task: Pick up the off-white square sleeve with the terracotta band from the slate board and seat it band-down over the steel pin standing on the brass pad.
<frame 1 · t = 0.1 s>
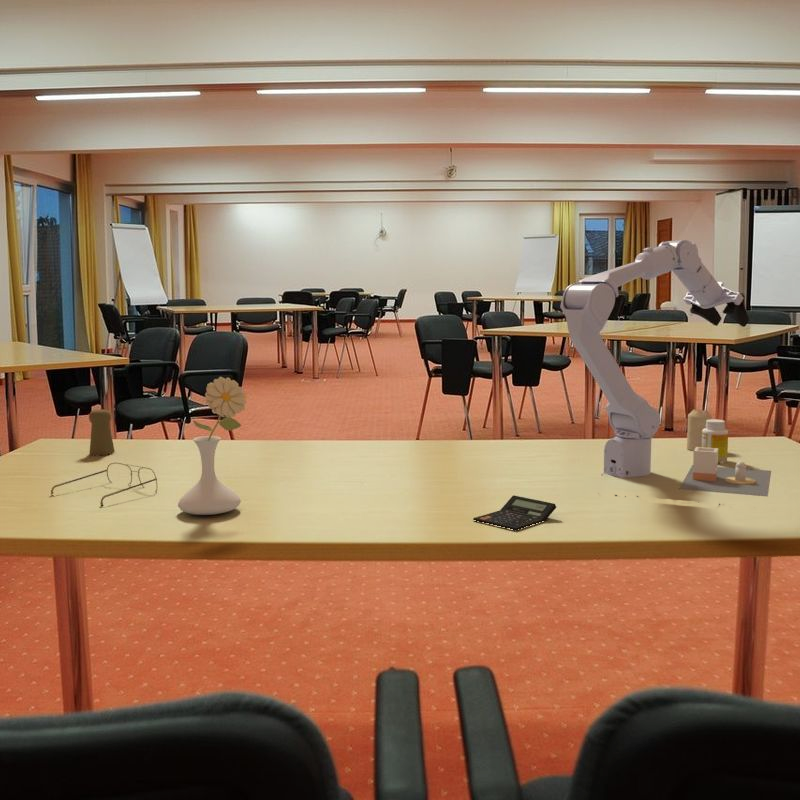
hand: (731, 322, 195), 32 cm above the table, tool tilted 50°, fingers open, 7 cm apart
flower in vase: (214, 512, 162), on the table
beige bottle: (698, 450, 216), on the table
pin board: (726, 484, 179), on the table
calculator: (514, 522, 155), on the table
brown tapered column: (102, 454, 219), on the table
supplement bottle: (713, 466, 198), on the table
eyeglasses: (107, 496, 177), on the table
sleeve: (705, 478, 181), point 1 cm above the table, touching pin board
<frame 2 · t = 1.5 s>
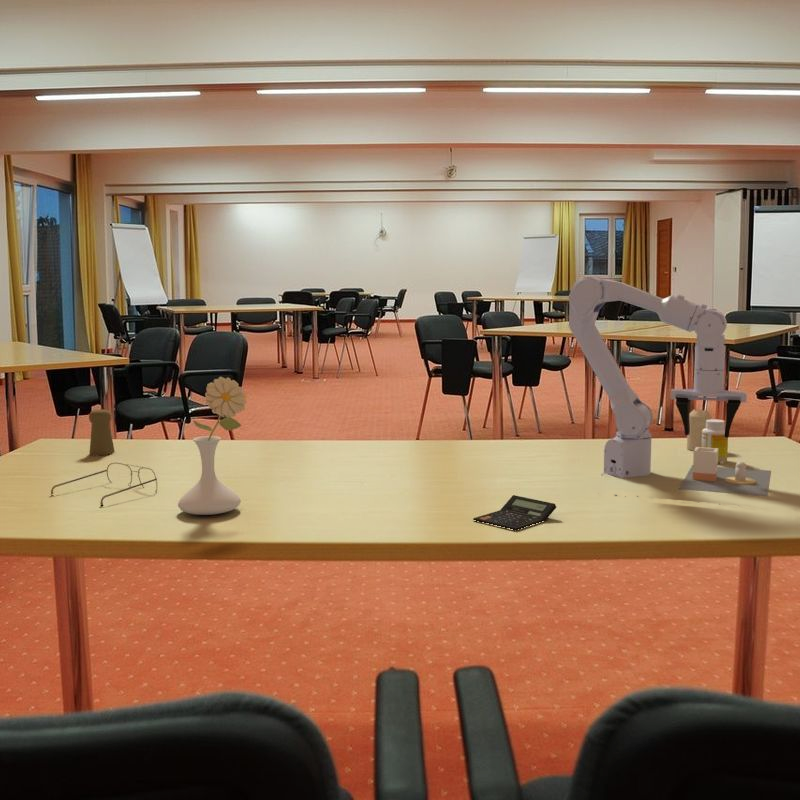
hand: (706, 435, 179), 10 cm above the table, tool pointing down, fingers open, 7 cm apart
nothing on the table moved.
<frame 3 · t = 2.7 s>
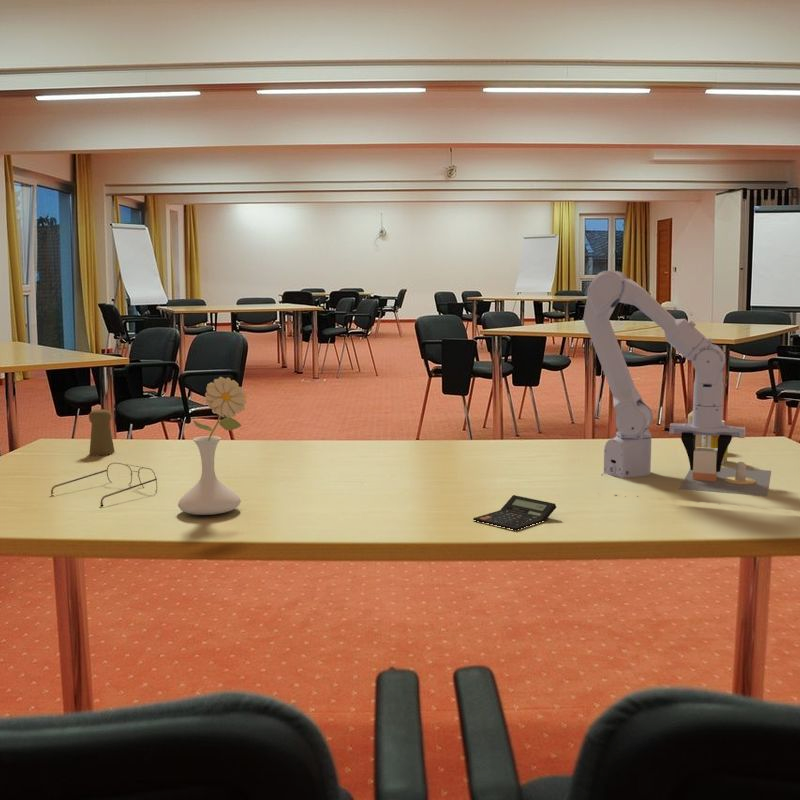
hand: (705, 470, 180), 3 cm above the table, tool pointing down, fingers closed on sleeve, 4 cm apart
sleeve: (705, 478, 181), point 1 cm above the table, touching gripper, pin board
everything else where it was.
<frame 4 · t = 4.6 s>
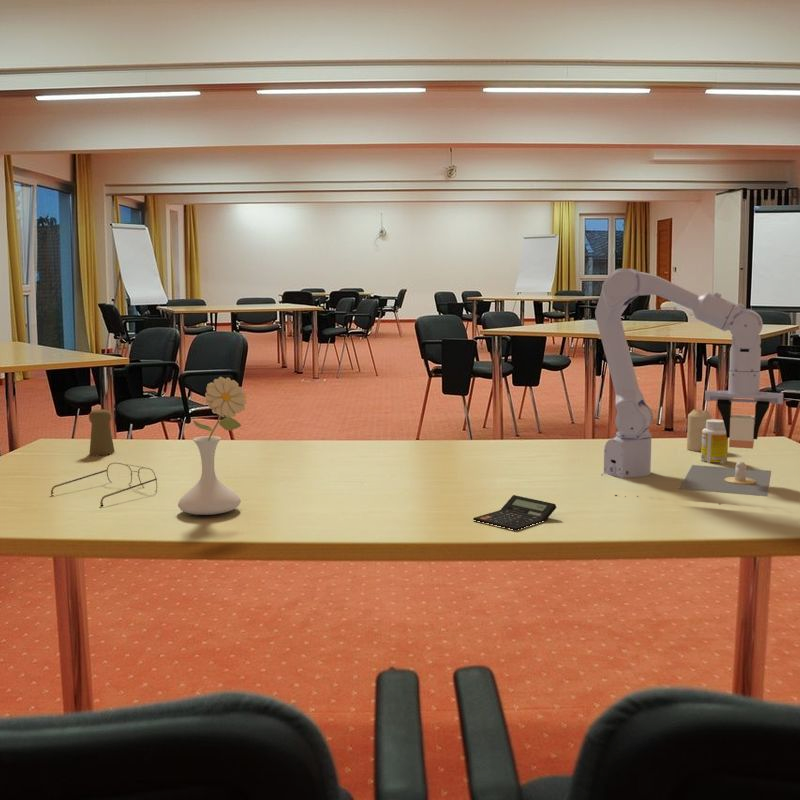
hand: (741, 437, 176), 10 cm above the table, tool pointing down, fingers closed on sleeve, 4 cm apart
sleeve: (741, 445, 177), point 8 cm above the table, touching gripper
everything else where it was.
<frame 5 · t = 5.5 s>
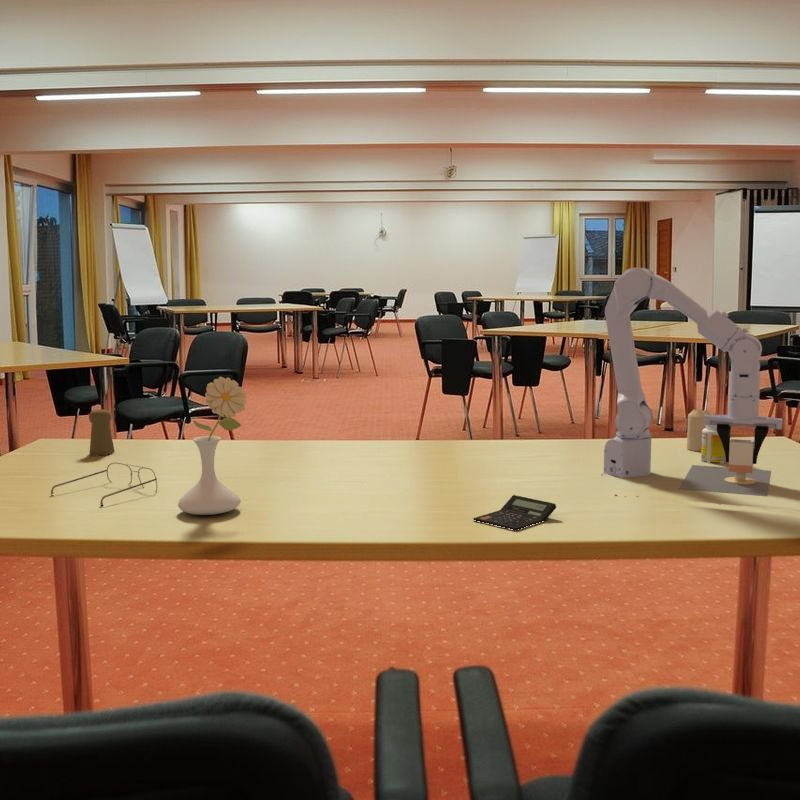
hand: (741, 462, 177), 5 cm above the table, tool pointing down, fingers closed on sleeve, 4 cm apart
sleeve: (740, 470, 177), point 3 cm above the table, touching gripper
everything else where it was.
when the fingers open (4 cm above the table, at t = 6.2 s): sleeve drops 1 cm, resting on pin board.
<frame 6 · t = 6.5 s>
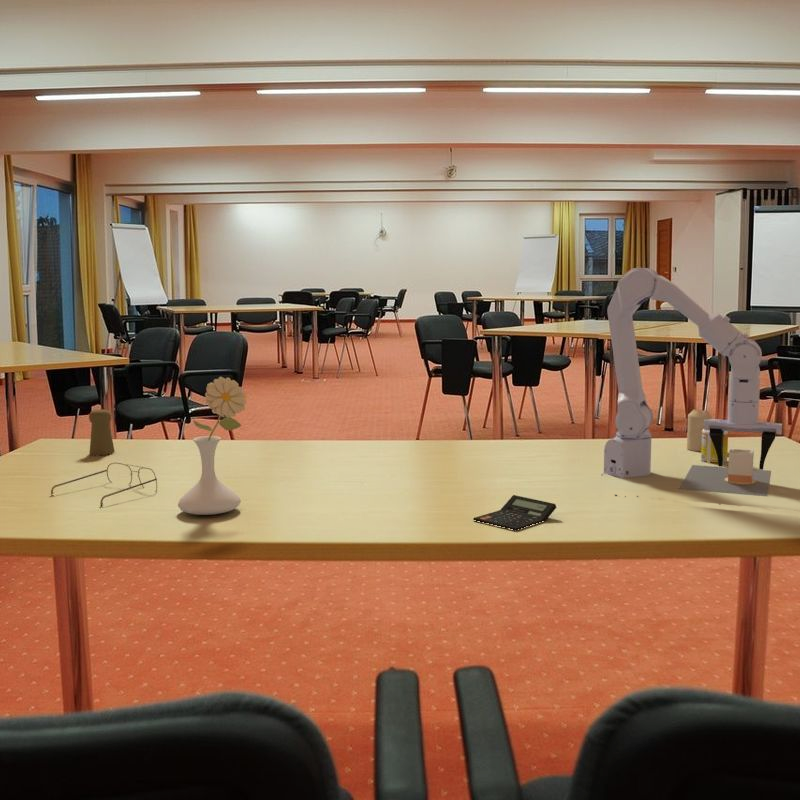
hand: (740, 467, 177), 4 cm above the table, tool pointing down, fingers open, 7 cm apart
sleeve: (740, 480, 178), point 1 cm above the table, touching pin board
everything else where it was.
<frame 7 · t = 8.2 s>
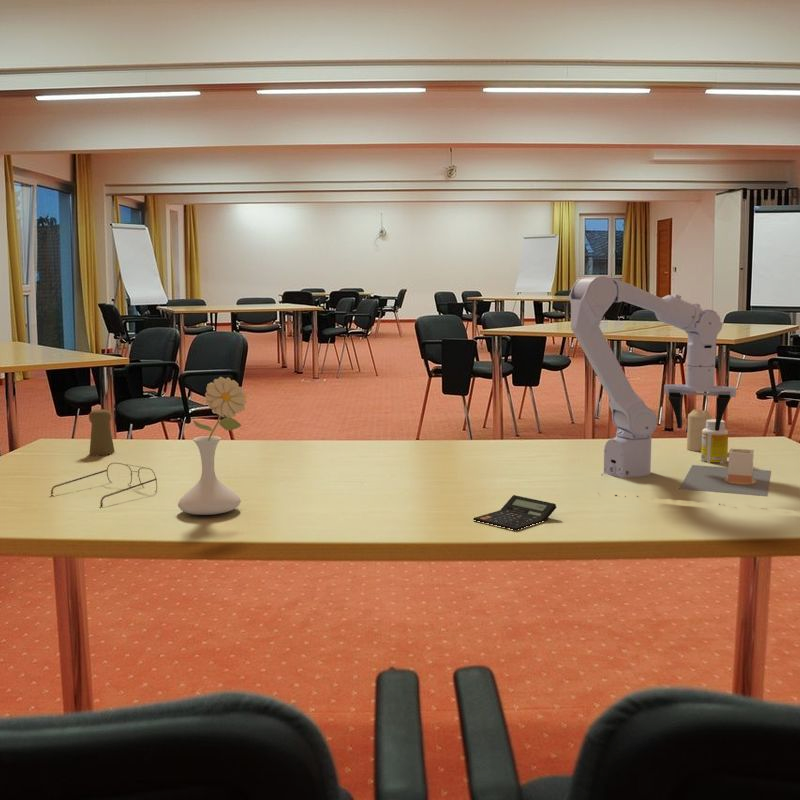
hand: (698, 428, 188), 10 cm above the table, tool pointing down, fingers open, 7 cm apart
nothing on the table moved.
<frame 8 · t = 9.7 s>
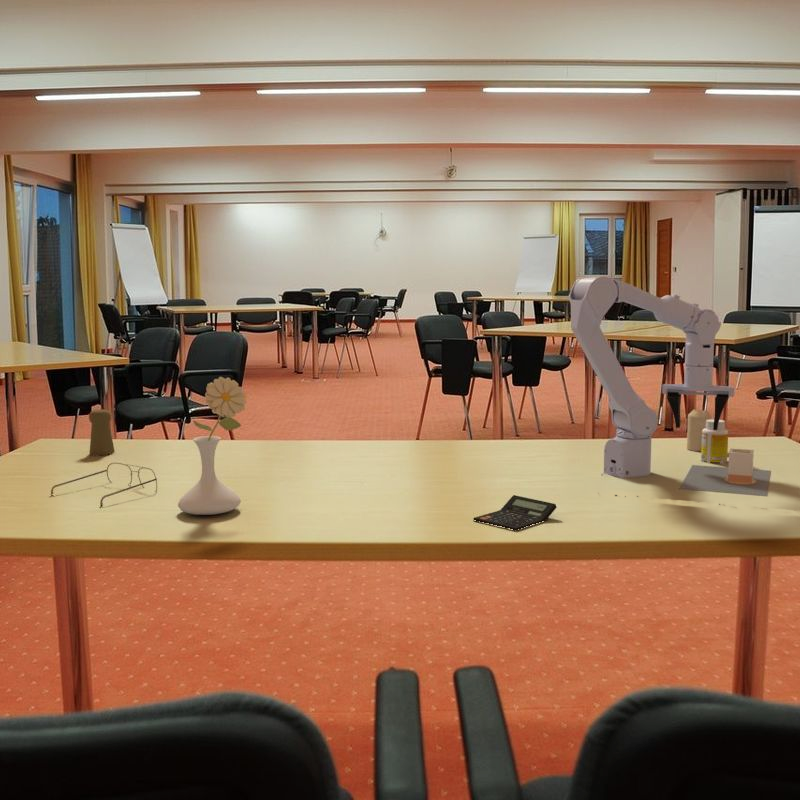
hand: (696, 428, 188), 10 cm above the table, tool pointing down, fingers open, 7 cm apart
nothing on the table moved.
at the end: sleeve 0.0 cm from the target spot on the pin board, point 1.2 cm above the pin board's base; sleeve tilted 0°; the gripper is holding nothing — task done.
